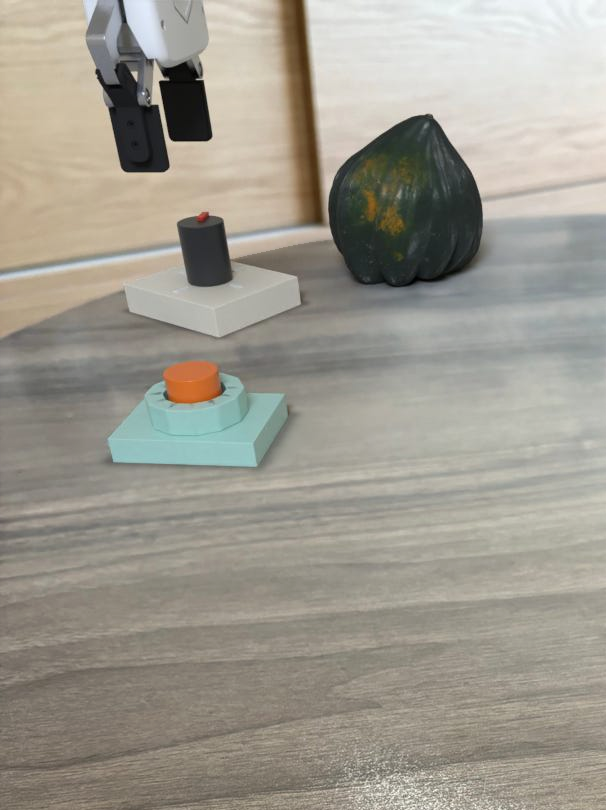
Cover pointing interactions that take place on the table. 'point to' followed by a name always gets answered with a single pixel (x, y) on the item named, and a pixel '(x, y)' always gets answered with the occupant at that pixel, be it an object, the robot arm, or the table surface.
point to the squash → (406, 206)
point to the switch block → (200, 428)
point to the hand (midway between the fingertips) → (170, 155)
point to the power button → (192, 382)
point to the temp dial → (205, 250)
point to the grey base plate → (213, 298)
